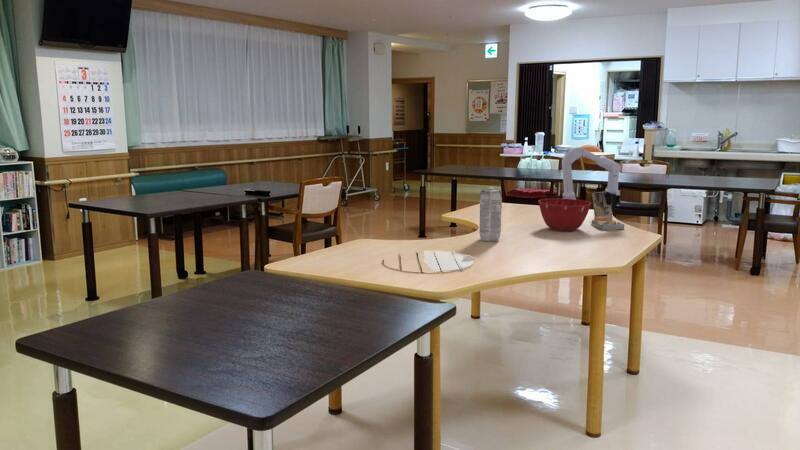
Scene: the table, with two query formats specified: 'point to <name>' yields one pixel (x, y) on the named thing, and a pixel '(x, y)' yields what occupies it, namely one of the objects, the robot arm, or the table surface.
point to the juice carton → (490, 214)
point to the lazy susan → (447, 260)
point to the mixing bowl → (564, 213)
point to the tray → (610, 226)
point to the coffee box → (601, 205)
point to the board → (603, 222)
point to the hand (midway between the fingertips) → (611, 206)
